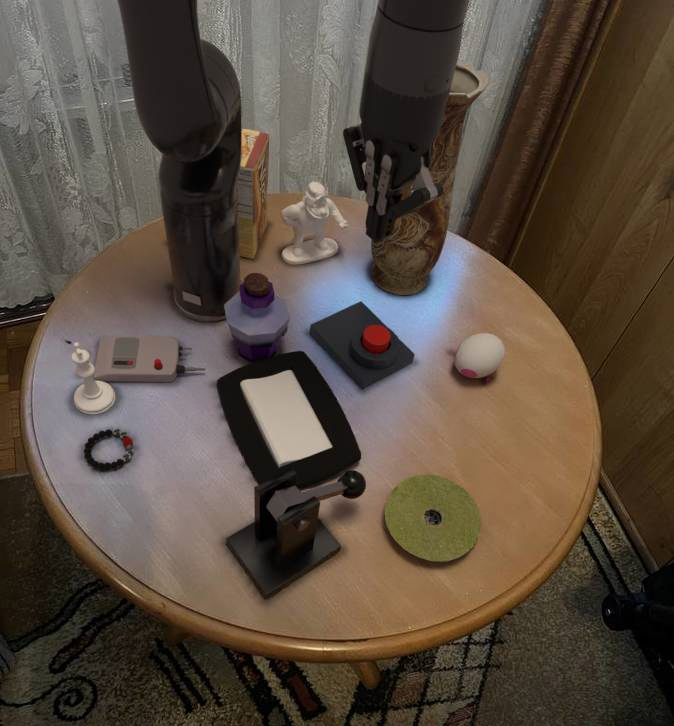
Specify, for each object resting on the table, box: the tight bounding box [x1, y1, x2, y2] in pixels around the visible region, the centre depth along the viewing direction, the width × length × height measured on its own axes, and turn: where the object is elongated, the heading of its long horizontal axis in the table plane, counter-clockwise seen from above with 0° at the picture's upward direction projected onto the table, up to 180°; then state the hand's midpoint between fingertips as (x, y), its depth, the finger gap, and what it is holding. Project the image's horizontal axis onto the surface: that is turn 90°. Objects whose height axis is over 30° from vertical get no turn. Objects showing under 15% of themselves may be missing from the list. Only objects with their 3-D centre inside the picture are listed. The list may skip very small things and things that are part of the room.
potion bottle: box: [224, 272, 291, 363], centre depth 84 cm, size 9×9×12 cm
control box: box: [309, 300, 415, 390], centre depth 89 cm, size 12×9×4 cm
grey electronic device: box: [93, 334, 206, 383], centre depth 84 cm, size 7×16×3 cm, turn 94°
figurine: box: [280, 181, 349, 266], centre depth 96 cm, size 9×7×12 cm
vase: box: [369, 57, 490, 296], centre depth 88 cm, size 10×11×30 cm
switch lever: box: [266, 469, 367, 521], centre depth 68 cm, size 13×3×3 cm, turn 127°
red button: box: [362, 325, 391, 354], centre depth 87 cm, size 4×4×2 cm
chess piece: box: [71, 341, 116, 415], centre depth 77 cm, size 5×5×10 cm
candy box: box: [237, 128, 270, 260], centre depth 95 cm, size 9×4×15 cm, turn 171°
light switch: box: [216, 350, 362, 491], centre depth 81 cm, size 20×3×14 cm
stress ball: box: [452, 331, 506, 383], centre depth 89 cm, size 8×8×7 cm
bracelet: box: [83, 428, 135, 471], centre depth 77 cm, size 6×6×1 cm
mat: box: [384, 473, 482, 562], centre depth 76 cm, size 11×11×2 cm
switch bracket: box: [225, 467, 342, 600], centre depth 68 cm, size 10×8×12 cm
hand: (376, 236), depth 70 cm, fingers closed
